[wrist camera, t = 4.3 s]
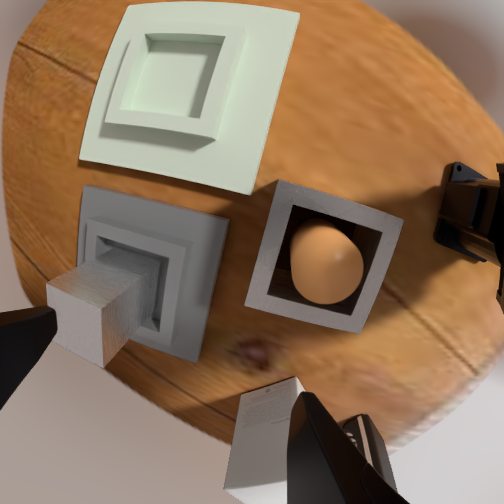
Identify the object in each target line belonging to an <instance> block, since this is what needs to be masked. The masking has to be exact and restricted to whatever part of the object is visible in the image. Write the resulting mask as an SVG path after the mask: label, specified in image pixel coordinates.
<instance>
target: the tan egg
mask: <svg viewBox="0 0 504 504" xmlns="http://www.w3.org/2000/svg"><path fill="white" fill-rule="evenodd" d="M289 250H290V260H291V271H292V279H293V282H294V285H295V287H296V288H297V290H298V291H299V293H300V294H301V295H302V296H304V297H305V298H306V299H308V300H310V301H312V302H315V303H319V304H332V303H336V302H339V301H342V300H344V299H345V298H347V297H348V296H350V295H351V294H352V293H353V292H354V291H355V289H356V288H357V287H358V285H359V283H360V281H361V278H362V275H363V259H362V256H361V253H360V251H359V250H358V248H357V247H356V246H355V245H354V244H353V243H352V242H351V241H350V240H349V239H348V238H347V237H346V236H345V235H344V234H343V233H342V232H341V231H340V230H339V229H338V228H337V227H336V226H335V225H334V224H332V223H331V222H329V221H327V220H324V219H310V220H307V221H305V222H303V223H301V224H300V225H299V226H298V227H297V228H296V229H295V230H294V232H293V233H292V235H291V238H290V243H289Z"/></svg>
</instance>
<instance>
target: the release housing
mask: <svg viewBox="0 0 504 504" xmlns="http://www.w3.org/2000/svg"><path fill="white" fill-rule="evenodd" d="M293 204H294V205H297V206H301V207H304V208H308V209H311V210H314V211H318V212H321V213H324V214H328V215H331V216H334V217H337V218H341V219H344V220H347V221H350V222H353V223H356V224H357V226H356V229H355V232H354V235H353V239H352V243H353V244H354V245H355V246H356V247H357V248H358V250H359V251H360V253H361V256H362V259H363V275H362V278H361V281H360V283H359V285H358V287H357V288H356V289H355V291H354V292H353V293H352V294H351V295H350V296H348V297H347V298H345V299H344V300H342V301H339V302H336V303H332V304H319V303H315V302H312V301H310V300H308V299H306V298H305V297H304V296H302V295H301V294H300V293H299V291H298V290H297V288H296V287H295V285H294V282H293V279H292V272H290V271H286V270H282V269H279V268H275V264H276V261H277V258H278V254H279V251H280V247H281V244H282V240H283V237H284V234H285V230H286V227H287V223H288V219H289V216H290V212H291V209H292V205H293ZM403 222H404V220H403V219H401V218H398V217H396V216H393V215H391V214H388V213H385V212H383V211H380V210H378V209H375V208H372V207H369V206H366V205H363V204H360V203H357V202H354V201H351V200H348V199H345V198H342V197H339V196H336V195H333V194H330V193H326V192H323V191H320V190H316V189H313V188H310V187H306V186H303V185H299V184H296V183H292V182H289V181H285V180H282V179H278V183H277V187H276V190H275V194H274V198H273V202H272V205H271V209H270V213H269V216H268V220H267V224H266V228H265V231H264V235H263V239H262V242H261V246H260V250H259V253H258V257H257V261H256V264H255V268H254V272H253V275H252V279H251V283H250V286H249V290H248V294H247V297H246V301H245V304H244V306H247V307H251V308H254V309H258V310H262V311H266V312H269V313H273V314H277V315H281V316H285V317H289V318H293V319H297V320H301V321H305V322H309V323H313V324H317V325H321V326H326V327H330V328H334V329H339V330H343V331H348V332H352V333H357V334H360V333H361V330H362V328H363V326H364V324H365V322H366V320H367V317H368V315H369V313H370V311H371V308H372V306H373V304H374V301H375V299H376V297H377V294H378V292H379V289H380V287H381V284H382V282H383V279H384V277H385V274H386V271H387V269H388V266H389V263H390V261H391V258H392V255H393V252H394V249H395V247H396V244H397V241H398V238H399V235H400V232H401V228H402V225H403Z"/></svg>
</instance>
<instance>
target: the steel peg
mask: <svg viewBox="0 0 504 504" xmlns="http://www.w3.org/2000/svg"><path fill="white" fill-rule="evenodd" d="M161 267H162V261H160V260H157V259H153V258H150V257H147V256H144V255H141V254H138V253H134V252H131V251H128V250H125V249H122V248H119V247H115V248H113V249H111V250H109V251H107V252H105V253H103V254H101V255H99V256H97V257H95V258H93V259H91V260H89V261H87V262H85V263H83V264H81V265H79V266H77V267H75V268H73V269H71V270H69V271H68V272H66V273H64V274H62V275H60V276H58V277H56V278H54V279H53V280H51V281H49V282H47V283H46V290H47V303H48V306H49V307H51V308H53V309H55V311H56V314H57V324H58V330H57V333H56V335H55V336H54V338H53V339H52V341H53V342H55V343H56V344H58V345H60V346H62V347H63V348H65V349H67V350H69V351H71V352H72V353H74V354H76V355H78V356H80V357H82V358H84V359H86V360H88V361H90V362H91V363H93V364H96V365H98V366H100V367H102V368H104V367H105V366H106V365H107V364H108V363H109V362H110V360H111V359H112V358H113V357H114V356H115V355H116V354H117V352H118V351H119V350H120V349H121V348H122V347H123V345H124V344H125V343H126V342H127V341H128V340H129V339H130V337H131V336H132V335H133V334H134V333H135V332H136V331H137V330H138V328H139V327H140V326H141V325H142V324H143V323H144V322H145V321H146V319H147V318H148V317H149V316H150V315H151V314H152V313H153V312H154V311H155V309H156V306H157V297H158V289H159V282H160V274H161Z"/></svg>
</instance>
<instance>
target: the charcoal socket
mask: <svg viewBox="0 0 504 504" xmlns="http://www.w3.org/2000/svg"><path fill="white" fill-rule="evenodd" d="M229 223H230V219H228V218H224V217H221V216H217V215H213V214H209V213H205V212H201V211H197V210H193V209H190V208H186V207H182V206H178V205H174V204H170V203H166V202H161V201H157V200H153V199H149V198H145V197H141V196H137V195H132V194H128V193H124V192H120V191H115V190H111V189H107V188H102V187H98V186H94V185H86V186H84V187H83V195H82V203H81V213H80V224H79V237H78V259H77V266H79V265H81V264H83V263H85V262H87V261H89V260H91V259H93V258H95V257H97V256H99V255H101V254H103V253H105V252H107V251H109V250H111V249H113V248H115V247H119V248H122V249H125V250H128V251H131V252H134V253H138V254H141V255H144V256H147V257H150V258H153V259H157V260H160V261H162V267H161V274H160V282H159V289H158V297H157V306H156V309H155V311H154V312H153V313H152V314H151V315H150V316H149V317H148V318H147V319H146V321H145V322H144V323H143V324H142V325H141V326H140V327H139V328H138V330H137V331H136V332H135V333H134V334H133V335H132V336H131V337H130V340H132V341H135V342H137V343H140V344H143V345H145V346H148V347H150V348H153V349H156V350H158V351H161V352H164V353H167V354H170V355H172V356H175V357H178V358H181V359H184V360H187V361H190V362H193V363H197V362H198V360H199V358H200V354H201V349H202V344H203V339H204V334H205V330H206V325H207V320H208V315H209V311H210V306H211V302H212V297H213V293H214V288H215V284H216V279H217V275H218V270H219V266H220V262H221V257H222V253H223V249H224V244H225V240H226V236H227V232H228V228H229Z"/></svg>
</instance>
